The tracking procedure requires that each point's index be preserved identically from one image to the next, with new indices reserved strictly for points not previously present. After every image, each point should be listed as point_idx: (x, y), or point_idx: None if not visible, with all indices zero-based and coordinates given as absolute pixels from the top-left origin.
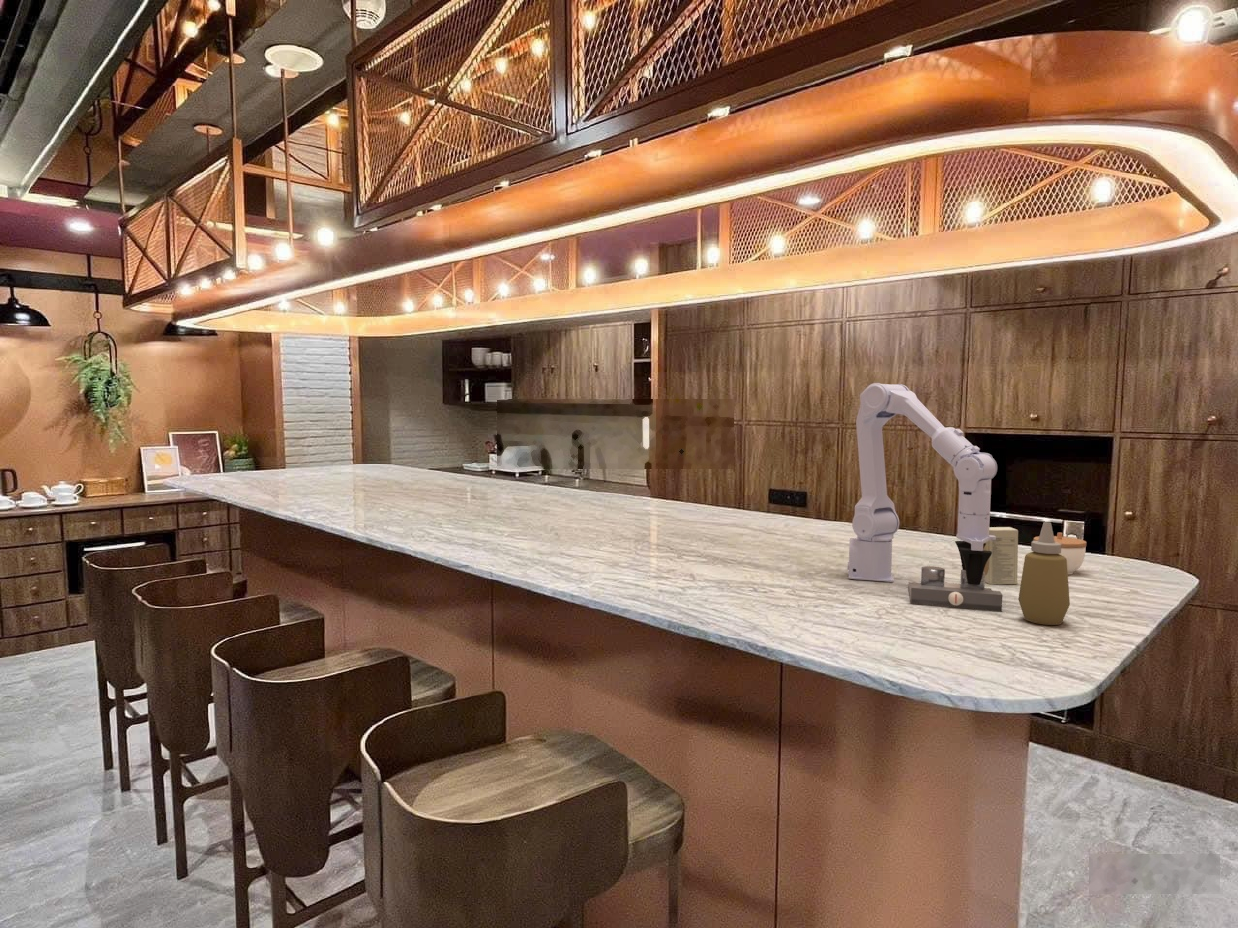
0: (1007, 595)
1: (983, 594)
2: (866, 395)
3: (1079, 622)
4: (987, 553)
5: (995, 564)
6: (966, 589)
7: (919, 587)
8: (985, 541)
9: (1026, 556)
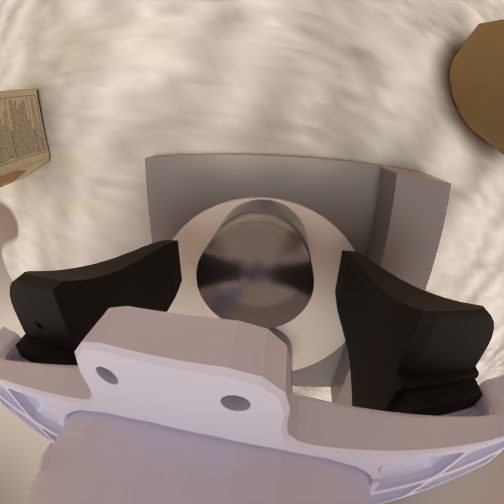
0: (165, 102)
1: (435, 246)
2: None
3: (453, 7)
4: (487, 336)
5: (2, 154)
6: None
7: None
8: (451, 424)
9: None
